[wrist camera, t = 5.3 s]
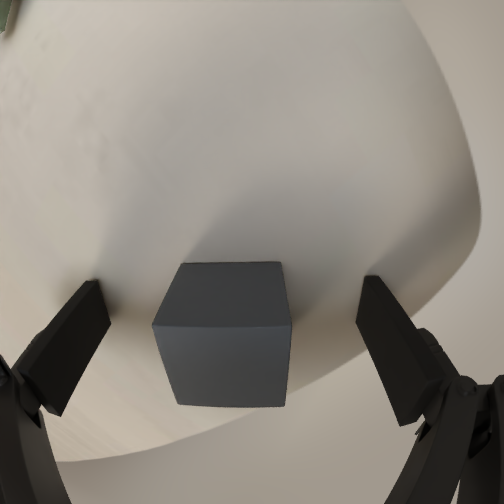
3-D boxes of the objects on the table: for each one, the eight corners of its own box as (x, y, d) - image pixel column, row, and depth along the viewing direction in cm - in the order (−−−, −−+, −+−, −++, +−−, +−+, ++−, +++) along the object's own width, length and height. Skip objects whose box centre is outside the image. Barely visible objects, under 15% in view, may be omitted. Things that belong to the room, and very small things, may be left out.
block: (280, 261, 12) (292, 325, 8) (278, 337, 14) (284, 407, 10) (180, 263, 12) (150, 324, 8) (193, 338, 14) (177, 404, 10)
